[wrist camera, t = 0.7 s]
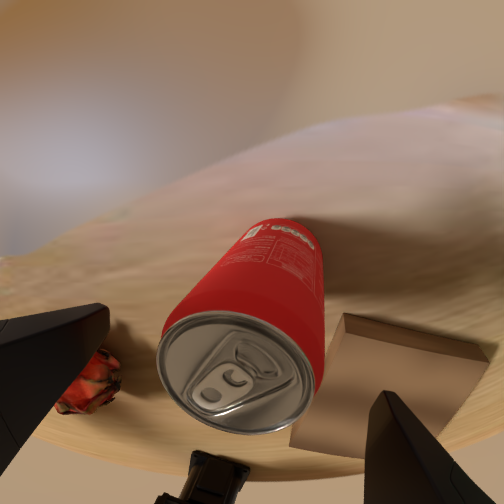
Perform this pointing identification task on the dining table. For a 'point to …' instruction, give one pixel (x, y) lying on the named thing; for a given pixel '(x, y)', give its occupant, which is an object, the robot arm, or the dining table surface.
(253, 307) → the beverage can
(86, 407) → the dragon fruit
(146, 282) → the dining table surface
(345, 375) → the walnut plinth
